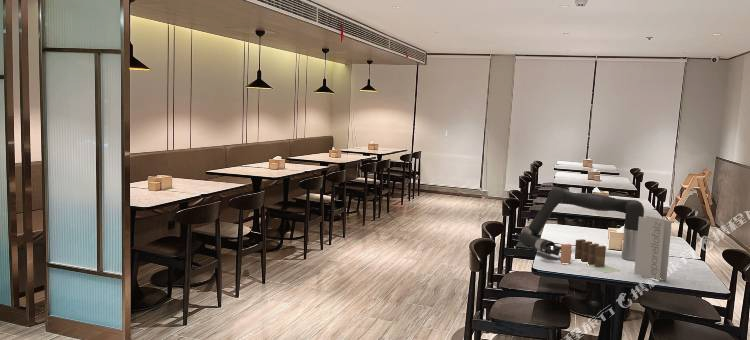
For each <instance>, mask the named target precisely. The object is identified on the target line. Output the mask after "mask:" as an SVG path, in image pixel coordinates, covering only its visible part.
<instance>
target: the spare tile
mask: <svg viewBox="0 0 750 340" xmlns="http://www.w3.org/2000/svg"><path fill="white" fill-rule="evenodd" d="M561 246H562V247H561ZM561 246H560V247H561V250H560V252H561V253H560V255H561V256H560V262H561V263H570V264H571V261H572V260H571V254H572V253H571V251H572V246H573V245H572V244H570V243H563V244H561Z"/></svg>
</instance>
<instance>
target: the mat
mask: <svg viewBox="0 0 750 340" xmlns="http://www.w3.org/2000/svg"><path fill="white" fill-rule="evenodd" d="M588 267H590V268H592V269H594V270H597V271H599V272H603V273H615V272H616V273H617V272H622V270H621V269H617V268H615V267H612V266H609V265H606V264H605V266H604V267H595V266H594V265H589V266H588Z"/></svg>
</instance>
